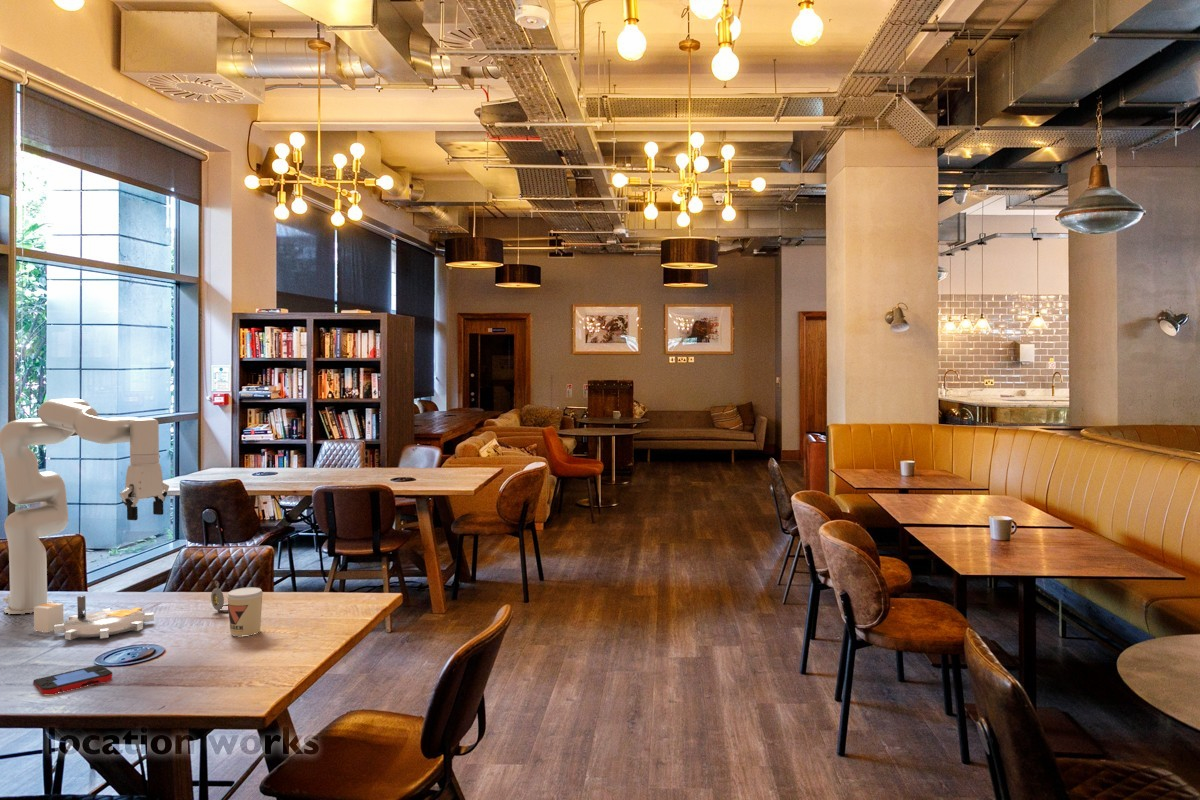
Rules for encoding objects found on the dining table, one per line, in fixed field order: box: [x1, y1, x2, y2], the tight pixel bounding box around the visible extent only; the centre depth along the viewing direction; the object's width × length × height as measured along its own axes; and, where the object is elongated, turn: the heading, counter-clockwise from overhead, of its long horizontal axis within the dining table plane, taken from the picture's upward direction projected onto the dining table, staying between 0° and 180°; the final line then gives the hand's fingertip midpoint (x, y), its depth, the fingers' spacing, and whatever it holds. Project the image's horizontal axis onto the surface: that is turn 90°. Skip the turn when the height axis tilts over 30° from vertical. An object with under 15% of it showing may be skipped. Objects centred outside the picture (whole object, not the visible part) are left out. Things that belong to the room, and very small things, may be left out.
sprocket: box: [53, 595, 155, 641], centre depth 235 cm, size 24×24×8 cm
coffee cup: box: [226, 586, 264, 636], centre depth 232 cm, size 9×9×12 cm
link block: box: [33, 602, 65, 633], centre depth 235 cm, size 5×5×7 cm
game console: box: [33, 664, 113, 695], centre depth 195 cm, size 14×13×2 cm
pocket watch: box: [210, 580, 229, 612], centre depth 254 cm, size 8×8×10 cm
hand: (145, 517), depth 242 cm, fingers open, 9 cm apart
